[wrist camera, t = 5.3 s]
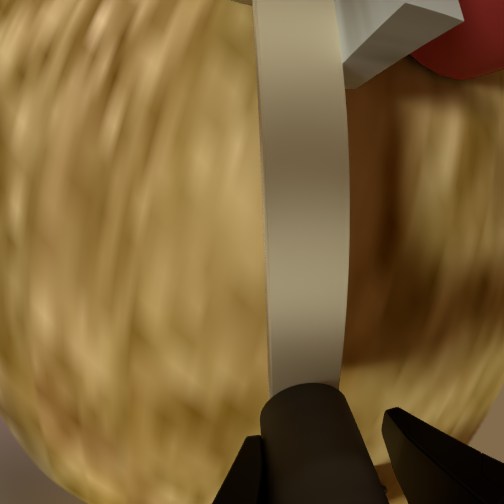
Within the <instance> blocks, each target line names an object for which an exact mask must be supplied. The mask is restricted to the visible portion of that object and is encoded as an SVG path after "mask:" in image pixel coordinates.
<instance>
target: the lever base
mask: <svg viewBox="0 0 504 504" xmlns="http://www.w3.org/2000/svg"><path fill="white" fill-rule="evenodd" d="M232 1H236V2H239V3H243V4H248V5H252V6H253V1H252V0H232Z"/></svg>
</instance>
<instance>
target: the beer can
mask: <svg viewBox="0 0 504 504" xmlns="http://www.w3.org/2000/svg"><path fill="white" fill-rule="evenodd" d="M458 1H459V4H460V8H461V11H462V15H463V18H464V22H462V23H460V24H459V25H457V26H455V27H453V28H452V29H450V30H448V31H446V32H445V33H443V34H441V35H440V36H438V37H436V38H434V39H433V40H431V41H429V42H428V43H426V44H425V45H423V46H421V47H420V48H418V49H416V50H415V51H413V52H412V53H410V55H411V56H412V57H414V58H415V59H416V60H417V61H418V62H419V63H420V64H422V65H424V66H425V67H427V68H429V69H430V70H432V71H434V72H435V73H437V74H439V75H442V76H446V77H449V78H453V79H456V80H463V79H473V78H476V77H479V76H482V75H486V74H489V73H492V72H496V71H499V70H503V69H504V0H458Z"/></svg>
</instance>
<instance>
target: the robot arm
mask: <svg viewBox="0 0 504 504" xmlns="http://www.w3.org/2000/svg"><path fill="white" fill-rule="evenodd" d="M382 435H383V438H384V441H385V445H386V448H387V451H388V454H389V457H390V460H391V464H392V467H393V470H394V473H395V475H396V477H397V480H398V482H399V484H400V486H401V488H402V490H403V493H404V495H405V497H406V499H407V501H408V504H504V463H502V462H500V461H498V460H496V459H494V458H492V457H489V456H488V455H486V454H483V453H481V452H479V451H477V450H476V449H474V448H472V447H470V446H468V445H466V444H464V443H462V442H460V441H458V440H457V439H455V438H453V437H451V436H449V435H447V434H445V433H444V432H442V431H440V430H438V429H436V428H435V427H433V426H431V425H429V424H427V423H426V422H424V421H422V420H420V419H418V418H417V417H415V416H413V415H411V414H410V413H408V412H406V411H404V410H403V409H401V408H399V407H395V408H391V409H388V410H386V411H385V413H384V417H383V423H382ZM382 488H383V490H384V493H385V495H386V493H387V489H386V487H385V486H383V485H382ZM386 498H387V497H386ZM387 501H388V499H387ZM388 503H389V502H388ZM212 504H266V495H265V466H264V456H263V446H262V438H261V436H260V435H254V436H247V437H246V439H245V441H244V443H243V445H242V447H241V449H240V451H239V453H238V455H237V457H236V459H235V461H234V463H233V465H232V466H231V468H230V470H229V472H228V474H227V476H226V478H225V480H224V482H223V484H222V486H221V488H220V489H219V491H218V493H217V495H216V497H215V499H214V501H213V502H212Z"/></svg>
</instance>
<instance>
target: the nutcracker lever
mask: <svg viewBox="0 0 504 504" xmlns="http://www.w3.org/2000/svg"><path fill="white" fill-rule="evenodd" d="M252 1H253V17H254V34H255V52H256V71H257V90H258V110H259V131H260V152H261V175H262V199H263V224H264V251H265V280H266V311H267V346H268V385H269V401H268V402H267V403H266V404H265V406H264V407H263V409H262V411H261V415H260V427H261V438H262V446H263V456H264V466H265V495H266V504H389V503H388V501H387V498H386V495H385V493H384V490H383V488H382V485H381V483H380V480H379V478H378V475H377V473H376V470H375V468H374V465H373V463H372V461H371V458H370V456H369V453H368V451H367V448H366V446H365V443H364V441H363V439H362V436H361V434H360V431H359V429H358V427H357V424H356V422H355V419H354V417H353V415H352V412H351V410H350V407H349V405H348V403H347V400H346V398H345V396H344V395H343V394H342V393H341V392H340V391H339V382H340V373H341V364H342V354H343V344H344V333H345V321H346V307H347V291H348V270H349V238H350V178H349V147H348V127H347V111H346V98H345V89H354V90H355V89H357V88H358V87H359V86H361V85H362V84H364V83H365V82H367V81H368V80H370V79H371V78H373V77H374V76H376V75H377V74H379V73H380V72H382V71H383V70H385V69H386V68H388V67H390V66H391V65H393V64H394V63H396V62H397V61H399V60H400V59H402V58H404V57H405V56H407V55H408V54H410V53H412V52H413V51H415V50H416V49H418V48H420V47H421V46H423V45H425V44H426V43H428V42H429V41H431V40H433V39H434V38H436V37H438V36H440V35H441V34H443V33H445V32H446V31H448V30H450V29H452V28H453V27H455V26H457V25H459V24H460V23H462V22H464V18H463V15H462V11H461V8H460V4H459V1H458V0H252Z"/></svg>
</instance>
